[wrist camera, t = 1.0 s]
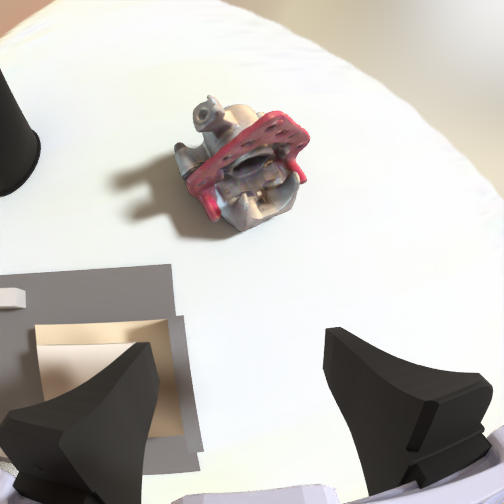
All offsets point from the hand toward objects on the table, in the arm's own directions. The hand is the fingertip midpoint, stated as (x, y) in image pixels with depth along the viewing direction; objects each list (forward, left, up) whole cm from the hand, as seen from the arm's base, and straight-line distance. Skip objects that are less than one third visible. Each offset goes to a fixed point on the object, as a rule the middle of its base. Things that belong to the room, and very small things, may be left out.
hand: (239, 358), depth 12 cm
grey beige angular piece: (-2, +8, -13) cm, 15 cm away
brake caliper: (+14, -4, -13) cm, 20 cm away
